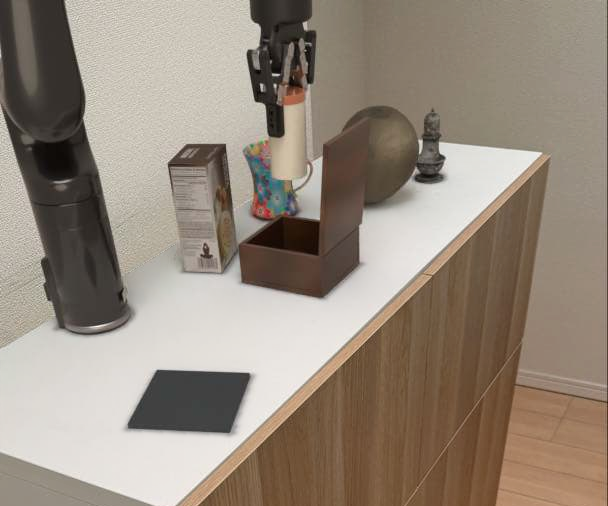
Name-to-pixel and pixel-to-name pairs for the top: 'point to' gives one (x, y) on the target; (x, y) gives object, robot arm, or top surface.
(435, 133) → the salt shaker
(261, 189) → the mug
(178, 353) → the top surface
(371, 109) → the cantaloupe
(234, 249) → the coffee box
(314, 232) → the chest
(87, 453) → the top surface
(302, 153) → the canister
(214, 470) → the top surface
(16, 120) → the robot arm
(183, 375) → the mat
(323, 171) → the lid
